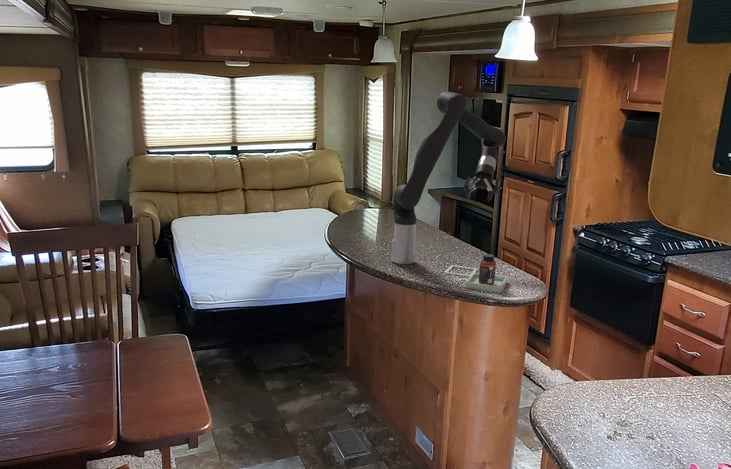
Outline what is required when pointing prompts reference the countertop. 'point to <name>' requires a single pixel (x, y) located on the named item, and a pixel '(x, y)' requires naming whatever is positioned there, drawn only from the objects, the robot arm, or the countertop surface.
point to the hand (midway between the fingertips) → (478, 199)
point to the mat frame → (457, 273)
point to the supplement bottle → (487, 270)
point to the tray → (496, 287)
